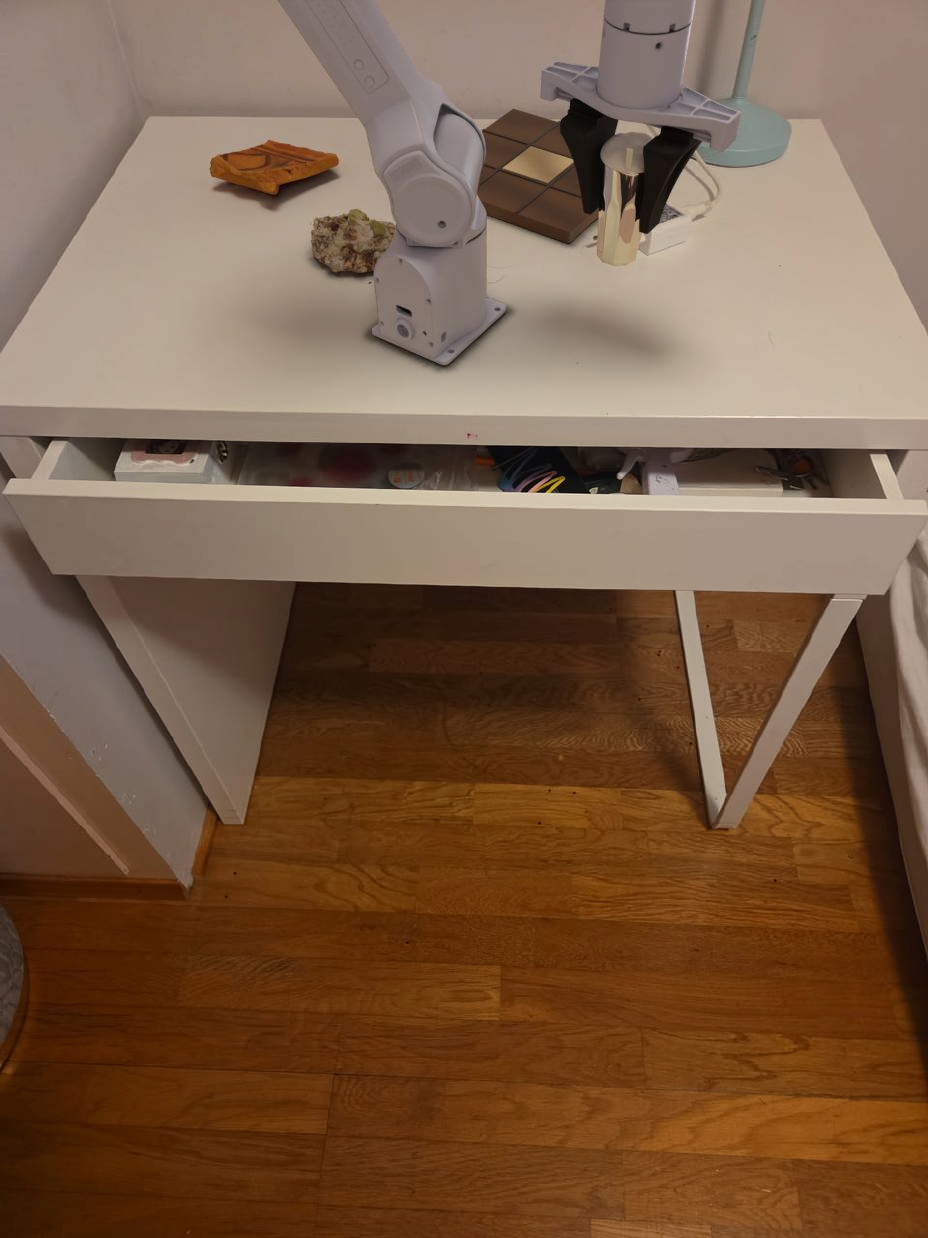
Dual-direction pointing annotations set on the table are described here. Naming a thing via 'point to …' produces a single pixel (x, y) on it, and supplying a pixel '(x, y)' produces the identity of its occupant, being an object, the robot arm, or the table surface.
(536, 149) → the board
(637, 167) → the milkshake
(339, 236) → the mineral rock
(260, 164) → the pottery fragment
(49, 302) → the table surface
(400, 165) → the robot arm
